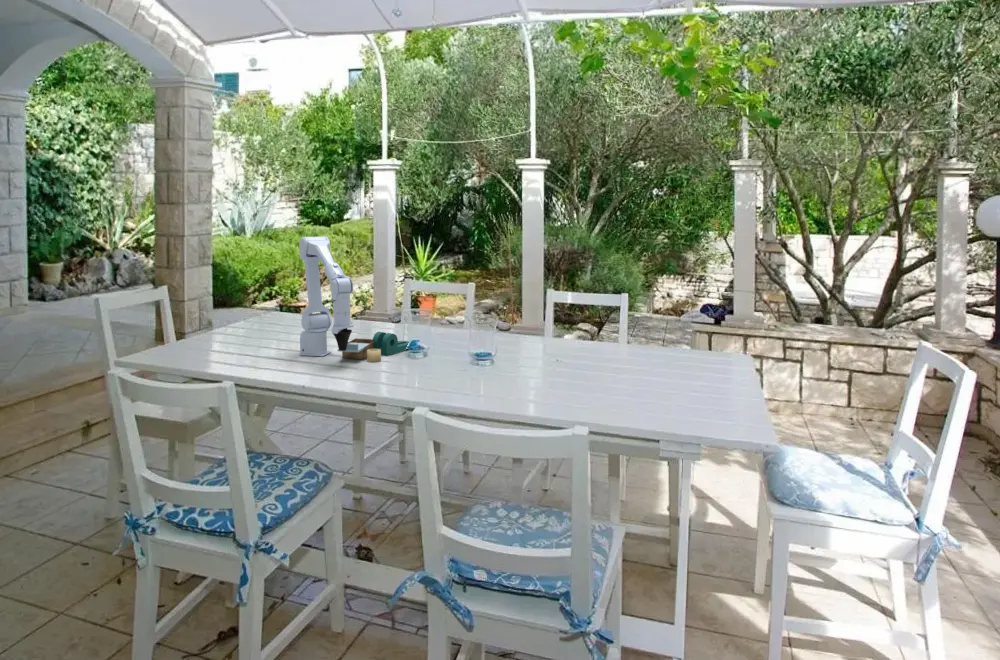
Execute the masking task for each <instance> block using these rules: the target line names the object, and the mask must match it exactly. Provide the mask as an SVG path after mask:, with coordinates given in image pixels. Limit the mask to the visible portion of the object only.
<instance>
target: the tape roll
mask: <svg viewBox="0 0 1000 660" xmlns="http://www.w3.org/2000/svg"><path fill="white" fill-rule="evenodd" d="M366 361H367V362H368V363H379V362H381V361H382V355H381V350H380V349H368V350H367V359H366Z"/></svg>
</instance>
